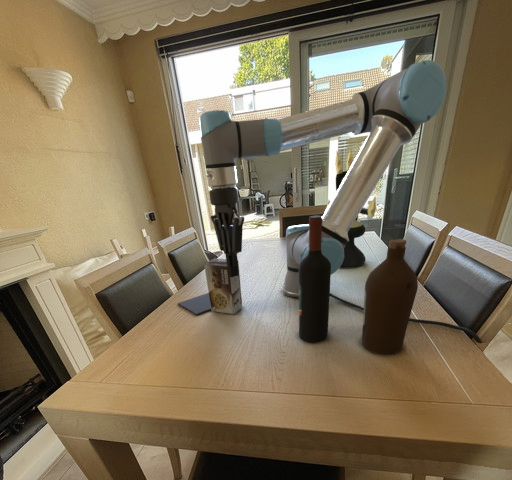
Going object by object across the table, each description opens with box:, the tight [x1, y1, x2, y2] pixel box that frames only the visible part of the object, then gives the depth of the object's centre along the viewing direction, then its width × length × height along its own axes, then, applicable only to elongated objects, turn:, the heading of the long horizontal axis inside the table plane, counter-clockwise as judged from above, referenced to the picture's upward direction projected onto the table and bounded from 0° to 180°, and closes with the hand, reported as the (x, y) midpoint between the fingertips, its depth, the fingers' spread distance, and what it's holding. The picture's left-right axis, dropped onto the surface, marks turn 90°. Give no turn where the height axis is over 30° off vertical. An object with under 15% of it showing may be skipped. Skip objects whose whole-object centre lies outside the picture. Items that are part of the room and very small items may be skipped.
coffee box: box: [203, 257, 243, 315], centre depth 94 cm, size 9×6×16 cm
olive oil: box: [361, 238, 419, 355], centre depth 66 cm, size 11×11×25 cm
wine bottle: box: [298, 215, 332, 344], centre depth 71 cm, size 8×8×30 cm
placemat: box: [177, 292, 211, 316], centre depth 105 cm, size 14×17×1 cm
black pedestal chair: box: [325, 148, 377, 269], centre depth 122 cm, size 19×22×45 cm
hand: (233, 275), depth 87 cm, fingers closed
